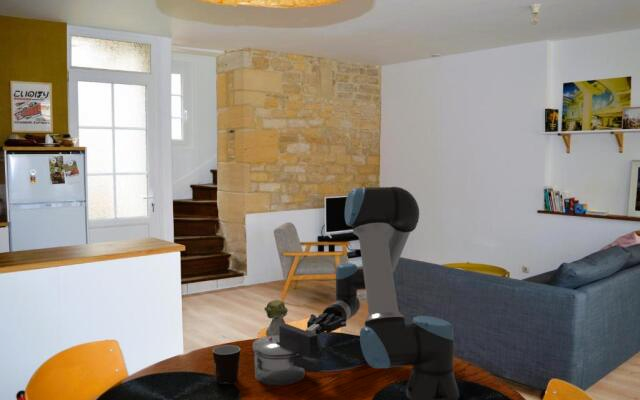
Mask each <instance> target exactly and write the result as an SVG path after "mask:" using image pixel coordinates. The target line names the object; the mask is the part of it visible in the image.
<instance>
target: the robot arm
mask: <svg viewBox="0 0 640 400" xmlns="http://www.w3.org/2000/svg"><path fill="white" fill-rule="evenodd" d="M419 219H420V209H419V204H418V202H417V200H416V198H415V197H414V195H413V194H412V193H411V192H410V191H408V190H407V189H404V188H402V187H398V186H389V187H388V186H386V187H385V186H383V187H381V186H380V187H379V186H376V187H374V186H373V187H370V186H369V187H366V186H363V187H353V188H352V189H350V190H349V192H348V193H347V196H346V199H345V206H344V221H345V224H346V225H347V226H348V227H352V233H353V235H355V236H356V237H358V241H359V247H360V249H359V250H360V256H361V263H362V264H361V265H362V268H358V266H357V264H356V263H352V262H351V263H350V262H344V263H339V264H337V266H336V268H335V269H336V270H335V277H334V278H335V301H334V302H333V303H331V304H330V305H329V306H327V307H326V308H324V310H323V312H322V313H321V314H319V315H315V314H313V313H312V314H310V318H309V319H308V321H307V323H306V329H305V331H308V332H310V333H313V334H316V335H317V336H318V335H320V334H324V333H327V334H329V333H332V332H334V331H336V330H338V329H341V328H343V327H347V321H348V320H349V319H352V318H353V317H354V316H355V315H356V314H357V313H358V311H360V308H361V302H360V299H359V297H358V294H357V293H358V291H363V290H365V294H366V302H367V308H368V309H367V310H368V316H367V318H366V319H365V321H364V326H363V327H362V328H361V329H360V331H359V336H360V337H359V343H360V347H361V352H362V356H363V357H364V360H365V361H366V362H367V364H368V366H370V367H371V368H373V369H385V368H388V369H389V368H390V367H394V368H398V367H399V368H401V367H409V366H412V370H411V374H410V377H409V379H408V383H407V385H406V393H405V394H406V395H407V396H406V395H405V396H406V398H407V397H408V398H409V399H410V400H458V398H459V399H460V391H459V387H458V384H457V381H456V378H455V373H454V351H455V349H454V347H455V342H454V341H455V332H454V327H453V324H451V322H449V321H447V320H445V319H443V318H439V317H435V316H427V315H426V316H425V315H417V316H414V317H413V319H412V322H411V323H406V319H405V315H403V314H402V313H400V311H399V307H398V306H399V305H398V298H397V293H396V288H395V287H396V285H397V284H398V272H397V270H396V267H397V265H398V262H399V261H400V258H401V256H402V253H403V250H404V248H405V246H406V244H407V241H408V238H409V237H410V234H411V232H414V230H416V228H417V225H418V223H419ZM408 398H407V399H408ZM409 399H408V400H409Z"/></svg>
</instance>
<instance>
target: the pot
mask: <svg viewBox="0 0 640 400" xmlns="http://www.w3.org/2000/svg"><path fill="white" fill-rule="evenodd" d="M253 353H254V378H255V380H256V381H257V382H260V383H262V384H266V385H271V386H285V385H291V384H294V383H298V382H300V381H301V380H303V379H304V378H305V375H306V373H305V371H309V372H312V373H315V374H316V373H318V372H321V371H323V364H322V362H323V361H322V360H321V359H318V358H316V357H313V358H307V357H305V356H303V355H300V354H294V355H289V356H266V355H262V354H258V353H256V352H255V351H254V350H253Z"/></svg>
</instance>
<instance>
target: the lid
mask: <svg viewBox="0 0 640 400" xmlns="http://www.w3.org/2000/svg"><path fill="white" fill-rule="evenodd" d="M252 351H253V352H254V351H255V352H256V353H258V354H262V355H266V356H289V355H294V354H300V355H303V356H305V357H307V358H317V357H318V335H316V334H313V333H310V332H308V331H306V329H305V330H304V329H302V328H300V327H296V326H293V325H291V324H288V323H286V324H285V325H281V326H279V335H274V336H267V335H266V336H263V337H259V338H258V339H256V340H254V341H253V343H252Z"/></svg>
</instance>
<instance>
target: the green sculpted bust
mask: <svg viewBox="0 0 640 400" xmlns="http://www.w3.org/2000/svg"><path fill="white" fill-rule="evenodd" d="M264 311H265V312H266V315H267V316H266V317H267V318H268V319H271V321H270V322H269V323H270V324H269V325H268V326H267V329H266V330H265V333H264V334H265V336H266V337H267V336H274V335H279V326H281V325H285V324H287V323H286V322H285V319H284V317H286V316H287V315H288V311H289V309H287V307H286V305H285V303H284V301H283V300H281V299H280V300H279V299H273V300H271V301H269V302H267V304H266V306H265V307H264Z"/></svg>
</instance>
